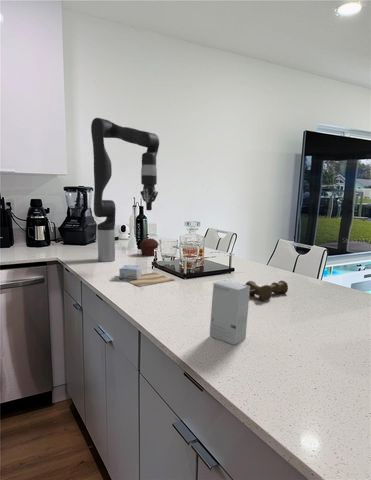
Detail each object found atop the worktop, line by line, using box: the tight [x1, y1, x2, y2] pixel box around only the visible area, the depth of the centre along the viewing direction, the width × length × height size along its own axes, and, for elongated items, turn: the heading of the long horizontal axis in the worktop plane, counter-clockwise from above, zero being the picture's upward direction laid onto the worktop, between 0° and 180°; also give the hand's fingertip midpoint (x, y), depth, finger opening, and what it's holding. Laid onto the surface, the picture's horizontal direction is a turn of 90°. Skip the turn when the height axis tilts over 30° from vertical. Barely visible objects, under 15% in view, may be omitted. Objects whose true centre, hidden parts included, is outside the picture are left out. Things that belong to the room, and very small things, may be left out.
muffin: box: [139, 238, 160, 257], centre depth 200 cm, size 12×11×10 cm
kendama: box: [244, 280, 289, 302], centre depth 124 cm, size 6×10×20 cm
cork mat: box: [122, 272, 176, 288], centre depth 145 cm, size 16×18×1 cm
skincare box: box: [209, 279, 250, 346], centre depth 87 cm, size 8×6×15 cm
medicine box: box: [119, 264, 142, 280], centre depth 147 cm, size 8×4×9 cm
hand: (148, 210), depth 164 cm, fingers closed
